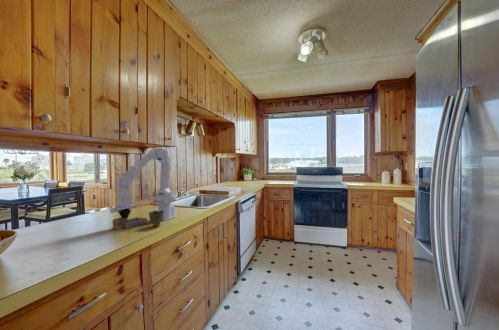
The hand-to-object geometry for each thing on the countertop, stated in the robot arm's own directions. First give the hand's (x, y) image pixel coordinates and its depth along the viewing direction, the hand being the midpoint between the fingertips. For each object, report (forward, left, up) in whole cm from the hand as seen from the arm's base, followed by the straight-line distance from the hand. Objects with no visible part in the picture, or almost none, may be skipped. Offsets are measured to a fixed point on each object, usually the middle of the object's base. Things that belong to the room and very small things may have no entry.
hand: (124, 223), depth 118 cm
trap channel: (-4, 0, -2) cm, 5 cm away
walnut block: (+3, 0, -2) cm, 3 cm away
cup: (-8, +15, -2) cm, 17 cm away
